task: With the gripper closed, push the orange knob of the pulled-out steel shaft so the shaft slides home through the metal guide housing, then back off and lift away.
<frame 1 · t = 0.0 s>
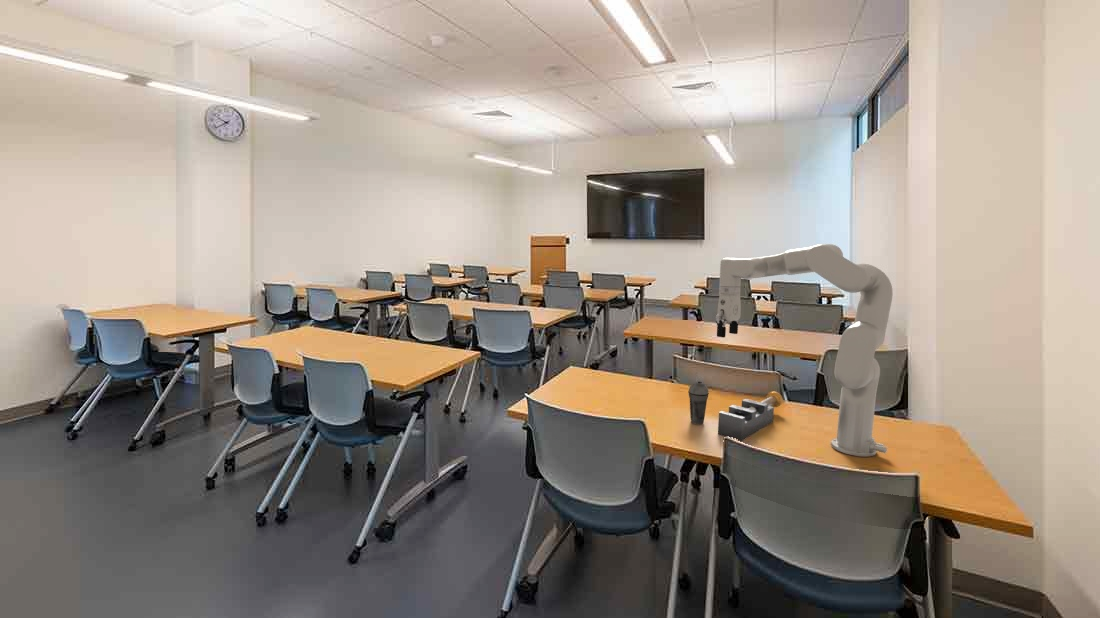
hand: (727, 335, 188), 31 cm above the table, tool pointing down, fingers open, 9 cm apart
beverage cup: (697, 423, 183), on the table
guide housing: (746, 428, 178), on the table
shaft: (761, 406, 185), point 5 cm above the table, slide at 9.0 cm
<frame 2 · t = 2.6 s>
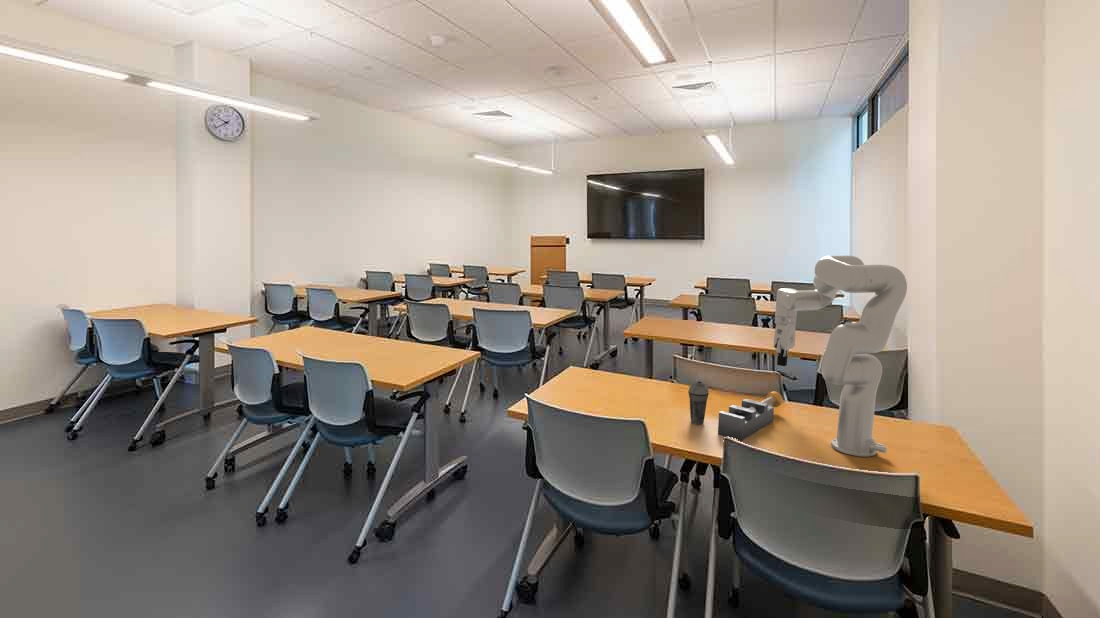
hand: (781, 365, 195), 18 cm above the table, tool pointing down, fingers closed
nothing on the table moved.
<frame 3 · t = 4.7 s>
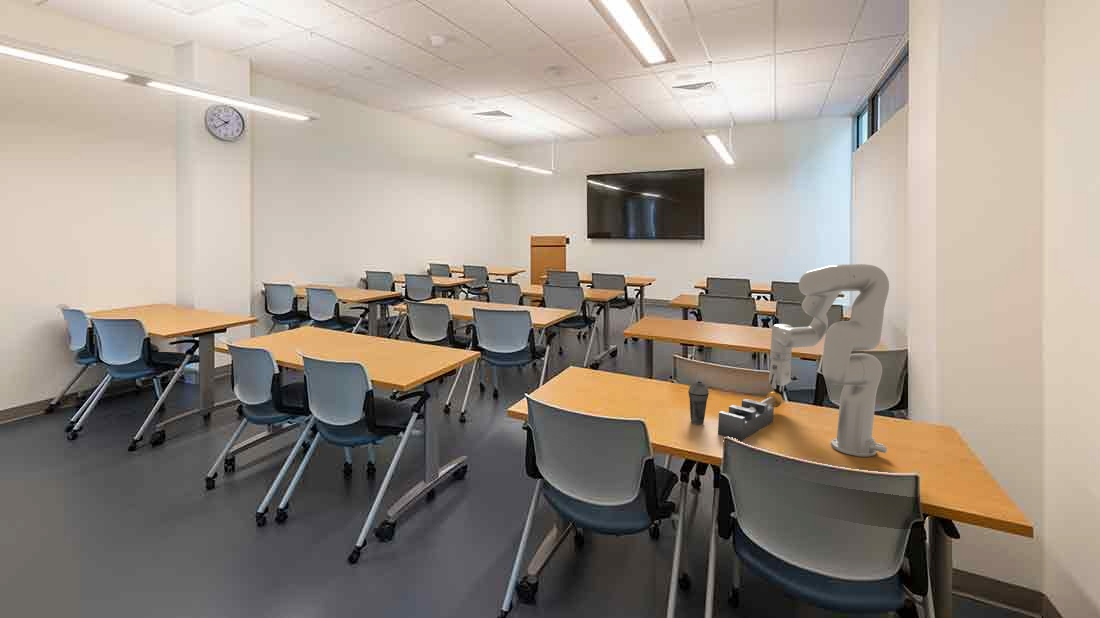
hand: (777, 400, 195), 4 cm above the table, tool pointing down, fingers closed
shaft: (760, 406, 185), point 5 cm above the table, slide at 8.9 cm, touching gripper
everything else where it was.
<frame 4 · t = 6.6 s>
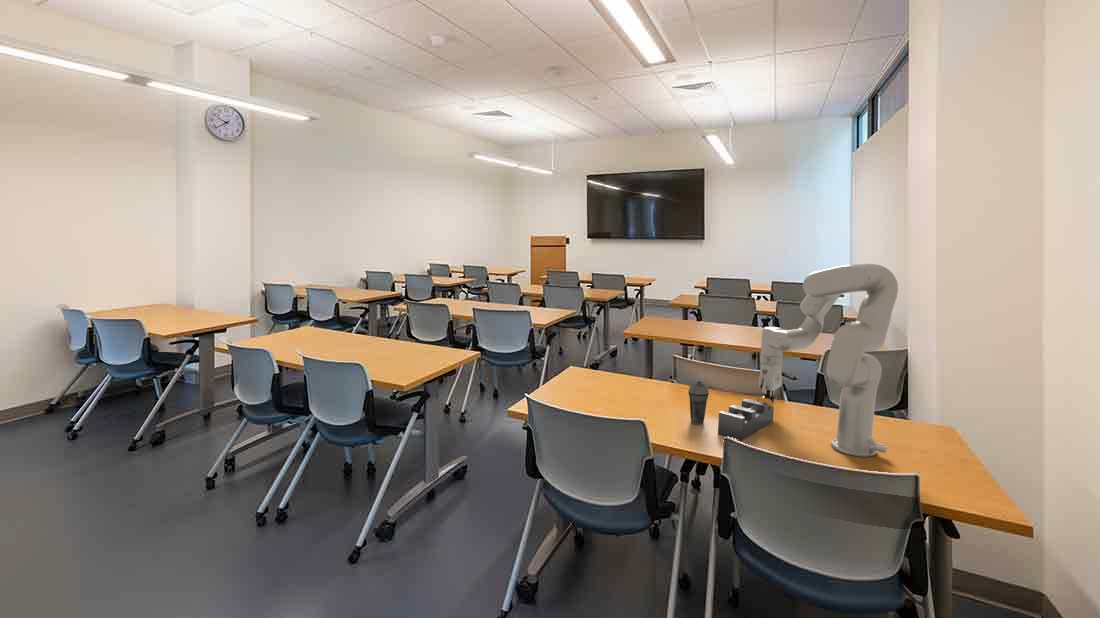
hand: (768, 405, 189), 4 cm above the table, tool pointing down, fingers closed
shaft: (750, 412, 179), point 5 cm above the table, slide at 0.0 cm, touching gripper
everything else where it was.
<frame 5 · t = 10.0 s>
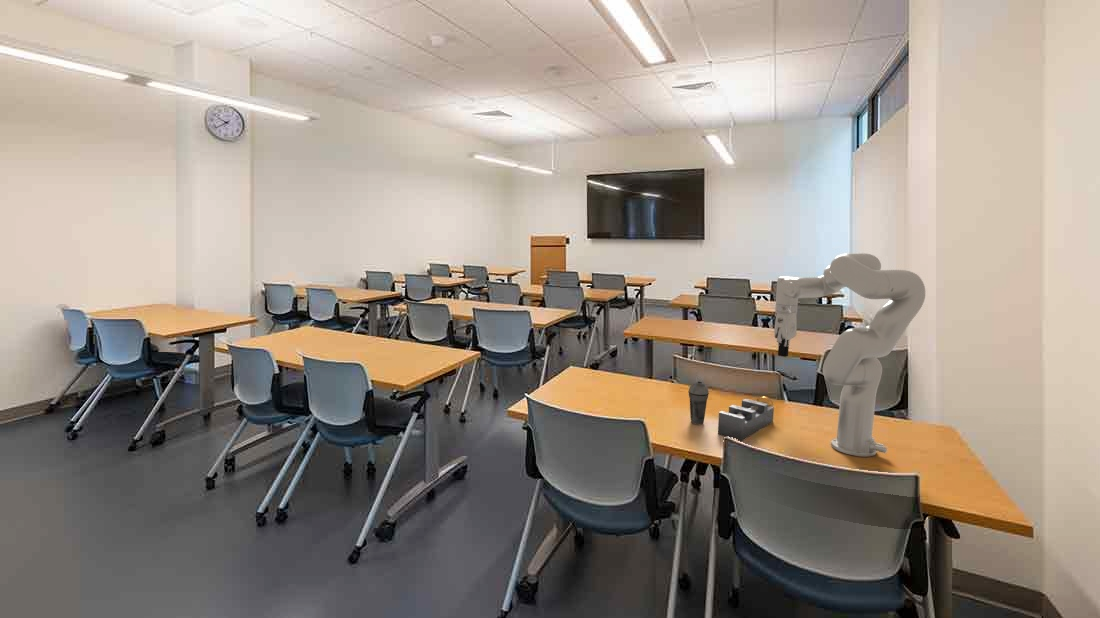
hand: (782, 355, 189), 23 cm above the table, tool pointing down, fingers closed
shaft: (750, 412, 179), point 5 cm above the table, slide at 0.0 cm
everything else where it was.
at the end: shaft slide at 0.0 cm; beverage cup moved 0.2 cm from its start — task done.
